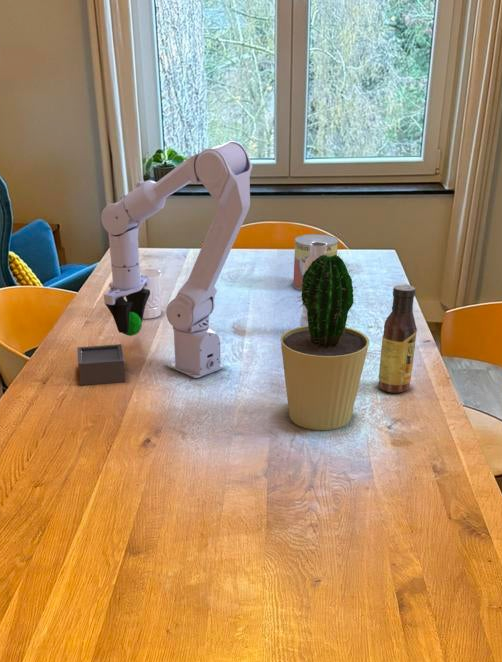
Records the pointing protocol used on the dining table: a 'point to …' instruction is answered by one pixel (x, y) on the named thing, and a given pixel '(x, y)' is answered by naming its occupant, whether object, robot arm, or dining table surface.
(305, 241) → the canned food
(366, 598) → the dining table surface
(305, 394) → the potted cactus
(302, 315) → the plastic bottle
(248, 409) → the dining table surface
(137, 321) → the polyhedron
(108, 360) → the grey box
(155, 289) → the white cup
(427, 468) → the dining table surface
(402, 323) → the sauce bottle
